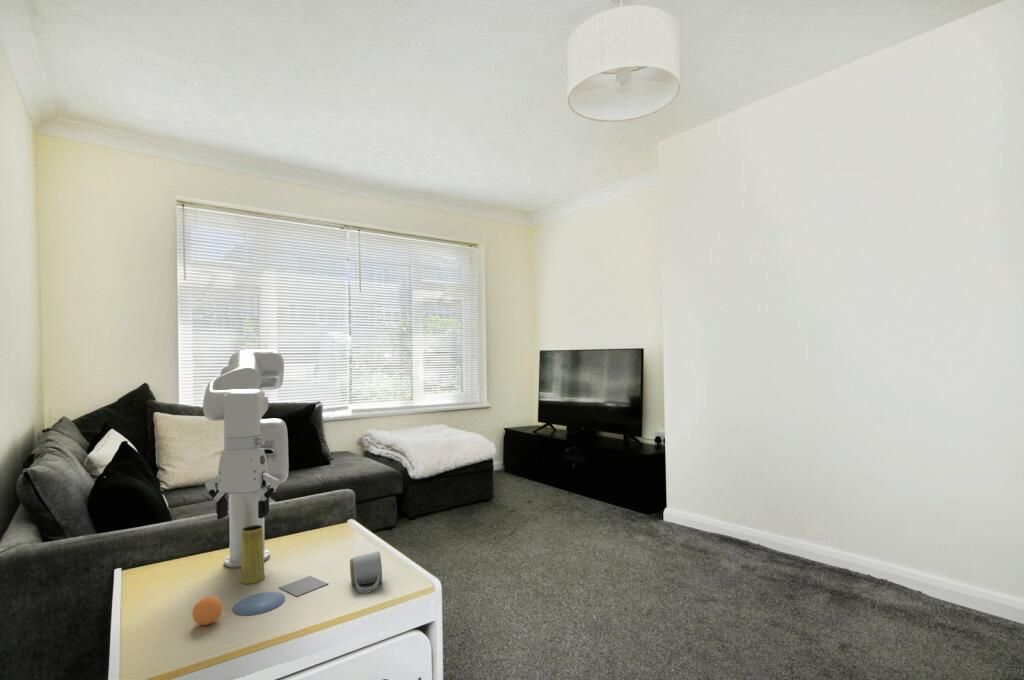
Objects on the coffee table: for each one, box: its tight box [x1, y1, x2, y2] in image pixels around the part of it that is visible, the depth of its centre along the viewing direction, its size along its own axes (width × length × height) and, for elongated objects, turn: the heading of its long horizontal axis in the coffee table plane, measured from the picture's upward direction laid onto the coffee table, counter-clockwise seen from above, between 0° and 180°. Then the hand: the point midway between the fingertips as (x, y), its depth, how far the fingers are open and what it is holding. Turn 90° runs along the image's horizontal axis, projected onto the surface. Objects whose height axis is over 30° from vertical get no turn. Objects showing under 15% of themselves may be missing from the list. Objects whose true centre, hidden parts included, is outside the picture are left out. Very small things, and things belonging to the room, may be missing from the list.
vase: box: [239, 525, 266, 585], centre depth 145 cm, size 6×6×14 cm
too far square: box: [278, 575, 329, 598], centre depth 140 cm, size 9×9×1 cm
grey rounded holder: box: [349, 551, 383, 593], centre depth 140 cm, size 11×8×8 cm
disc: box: [231, 591, 286, 617], centre depth 130 cm, size 12×12×1 cm
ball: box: [191, 595, 223, 626], centre depth 121 cm, size 6×6×6 cm
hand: (242, 517), depth 122 cm, fingers open, 9 cm apart
